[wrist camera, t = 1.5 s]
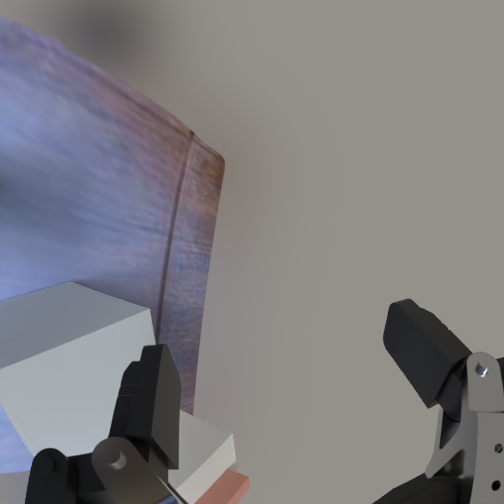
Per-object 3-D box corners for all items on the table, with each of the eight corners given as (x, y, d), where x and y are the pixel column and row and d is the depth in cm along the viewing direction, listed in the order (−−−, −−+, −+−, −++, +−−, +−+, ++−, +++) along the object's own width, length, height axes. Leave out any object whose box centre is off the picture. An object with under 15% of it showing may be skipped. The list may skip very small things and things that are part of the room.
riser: (34, 449, 28) (154, 572, 12) (-30, 310, 23) (19, 447, 8) (106, 409, 45) (239, 488, 30) (70, 281, 40) (223, 328, 25)
